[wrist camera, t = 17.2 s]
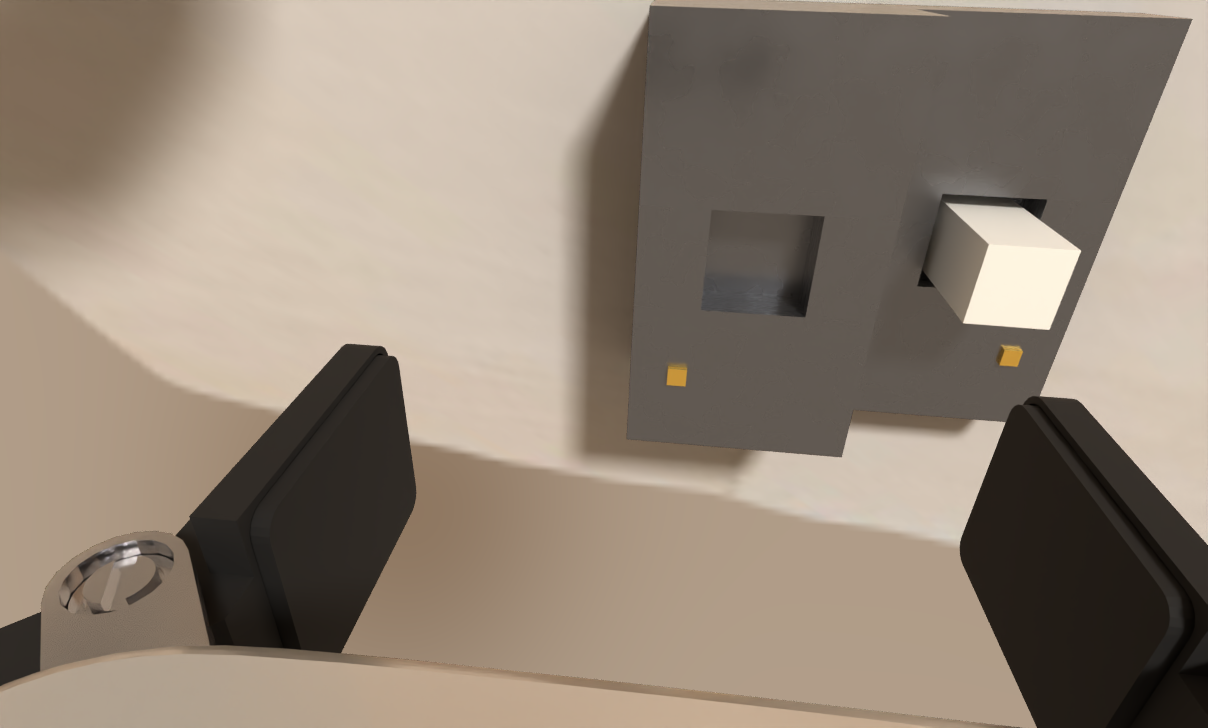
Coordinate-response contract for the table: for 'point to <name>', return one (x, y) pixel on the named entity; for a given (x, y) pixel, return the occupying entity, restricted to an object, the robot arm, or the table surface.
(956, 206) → the plug
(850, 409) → the panel
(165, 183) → the table surface
